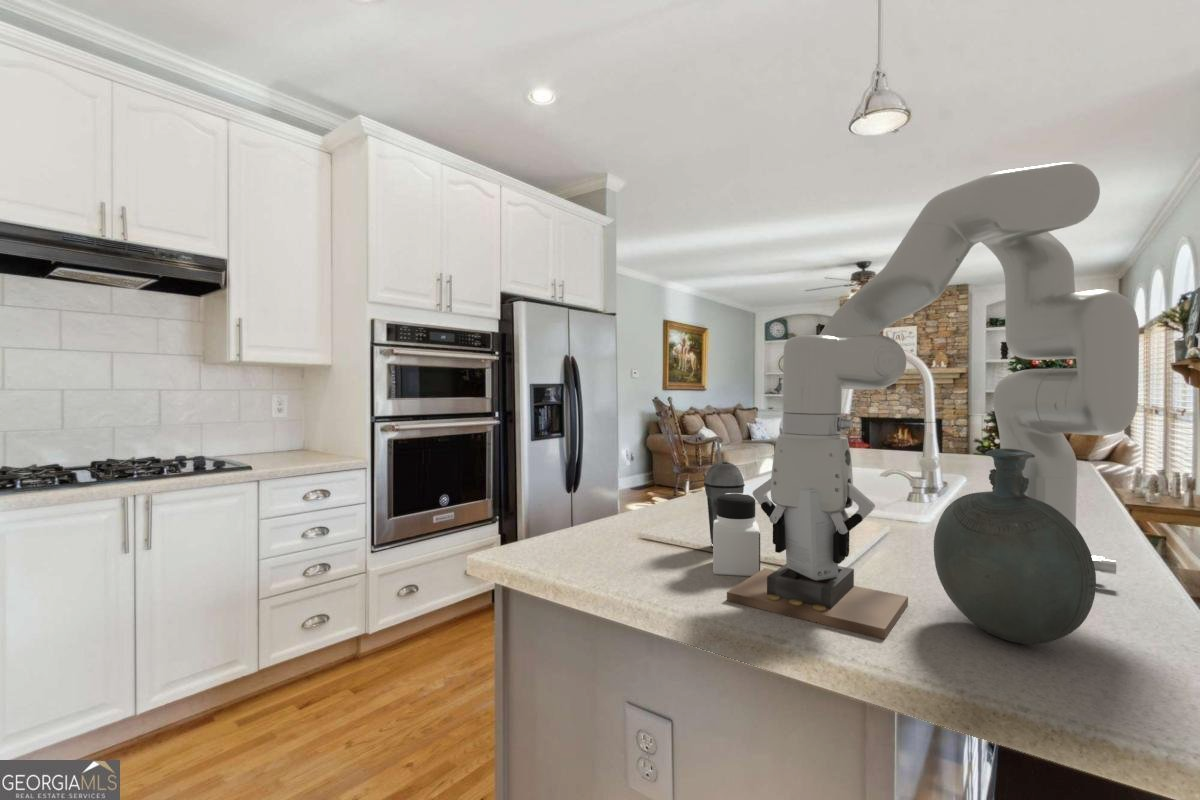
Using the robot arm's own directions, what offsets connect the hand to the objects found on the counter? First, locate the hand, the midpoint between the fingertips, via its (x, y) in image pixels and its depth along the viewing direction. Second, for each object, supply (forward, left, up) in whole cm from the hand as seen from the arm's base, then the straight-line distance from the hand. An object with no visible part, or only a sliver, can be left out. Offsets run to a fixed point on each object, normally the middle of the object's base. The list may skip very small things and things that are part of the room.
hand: (809, 554), depth 80 cm
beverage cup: (+21, -16, -6) cm, 27 cm away
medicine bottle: (+14, -6, -6) cm, 17 cm away
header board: (-1, +1, -6) cm, 6 cm away
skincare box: (0, 0, -3) cm, 3 cm away
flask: (-22, -2, -6) cm, 23 cm away
